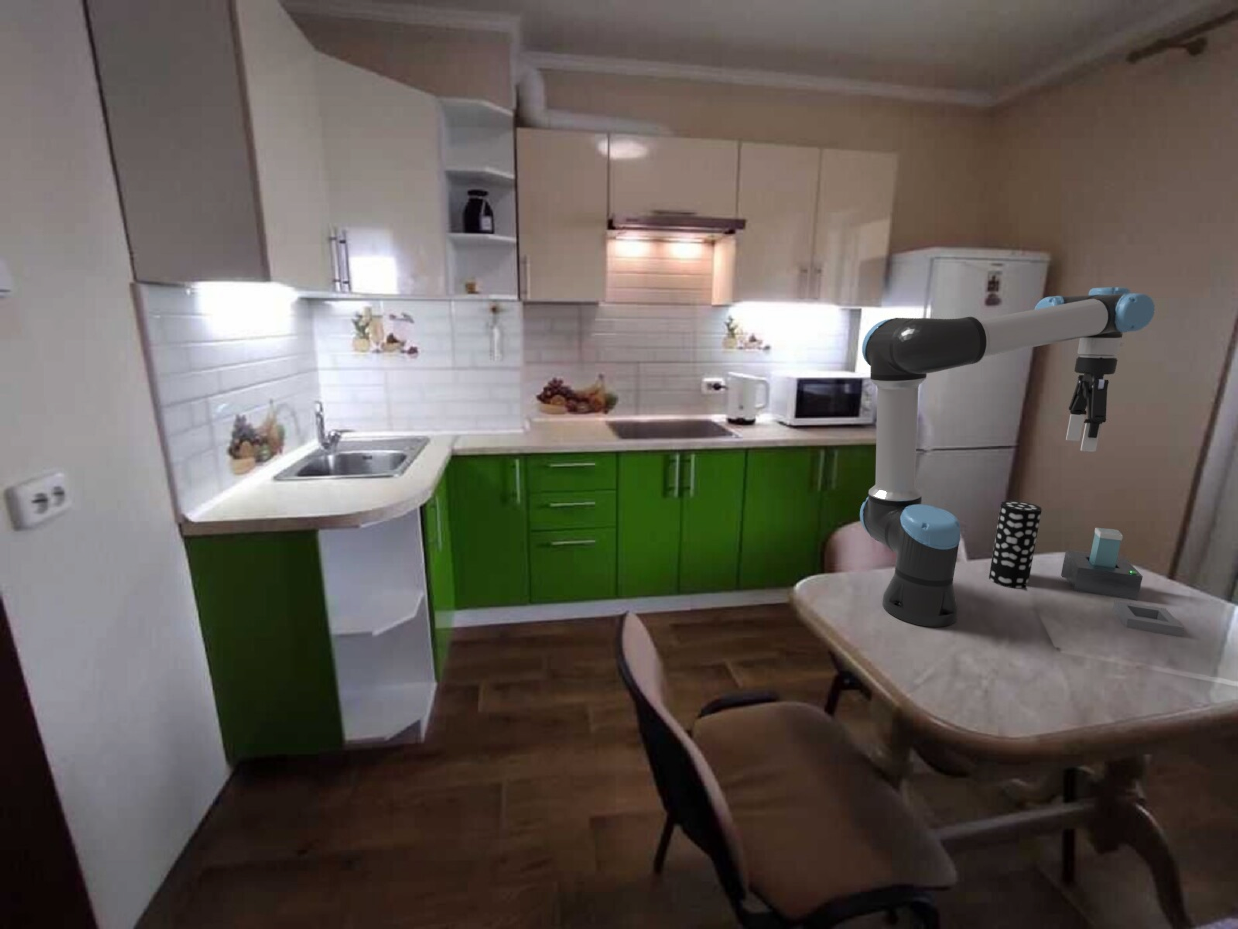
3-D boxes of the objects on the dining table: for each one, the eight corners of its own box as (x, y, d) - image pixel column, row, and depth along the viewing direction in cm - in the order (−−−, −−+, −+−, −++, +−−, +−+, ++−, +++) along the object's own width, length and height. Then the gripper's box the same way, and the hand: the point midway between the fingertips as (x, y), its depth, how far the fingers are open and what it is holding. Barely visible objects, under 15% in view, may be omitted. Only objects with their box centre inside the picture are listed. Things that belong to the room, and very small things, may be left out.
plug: (1090, 579, 142) (1100, 533, 139) (1086, 573, 146) (1095, 527, 143) (1112, 582, 140) (1122, 535, 137) (1107, 576, 144) (1117, 530, 141)
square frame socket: (1125, 631, 124) (1128, 618, 123) (1111, 612, 132) (1114, 600, 131) (1180, 640, 120) (1183, 627, 120) (1162, 621, 128) (1165, 608, 128)
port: (1073, 594, 141) (1078, 565, 139) (1060, 575, 151) (1066, 548, 150) (1136, 604, 136) (1143, 574, 134) (1119, 583, 147) (1125, 556, 145)
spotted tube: (1035, 588, 144) (1050, 511, 139) (1001, 588, 144) (1015, 511, 139) (1014, 574, 152) (1027, 500, 147) (981, 574, 152) (993, 500, 147)
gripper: (1136, 360, 124) (1116, 457, 129) (1101, 354, 146) (1084, 437, 151) (1092, 359, 127) (1074, 454, 132) (1064, 353, 149) (1049, 435, 154)
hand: (1079, 445), depth 141 cm, fingers open, 13 cm apart
